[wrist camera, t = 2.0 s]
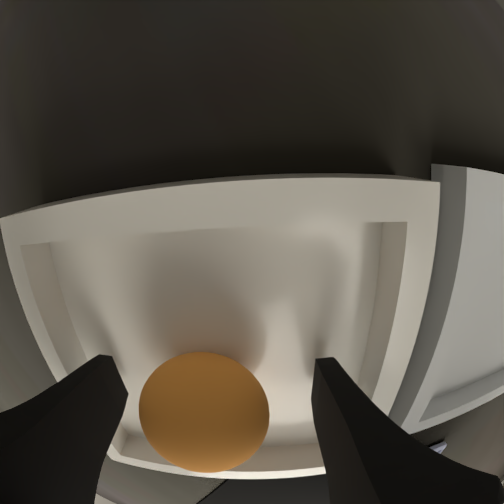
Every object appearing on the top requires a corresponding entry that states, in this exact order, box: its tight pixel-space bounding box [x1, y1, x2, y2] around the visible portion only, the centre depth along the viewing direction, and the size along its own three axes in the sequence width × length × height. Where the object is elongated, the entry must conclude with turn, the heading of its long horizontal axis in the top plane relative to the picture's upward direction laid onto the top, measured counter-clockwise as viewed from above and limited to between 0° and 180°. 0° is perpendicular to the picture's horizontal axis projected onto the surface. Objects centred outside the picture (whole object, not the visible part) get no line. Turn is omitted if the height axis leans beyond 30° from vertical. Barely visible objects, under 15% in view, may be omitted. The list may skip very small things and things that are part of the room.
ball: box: [139, 352, 270, 473], centre depth 7 cm, size 4×4×4 cm
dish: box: [0, 173, 440, 479], centre depth 9 cm, size 13×13×2 cm
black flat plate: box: [197, 474, 330, 504], centre depth 16 cm, size 12×1×30 cm
